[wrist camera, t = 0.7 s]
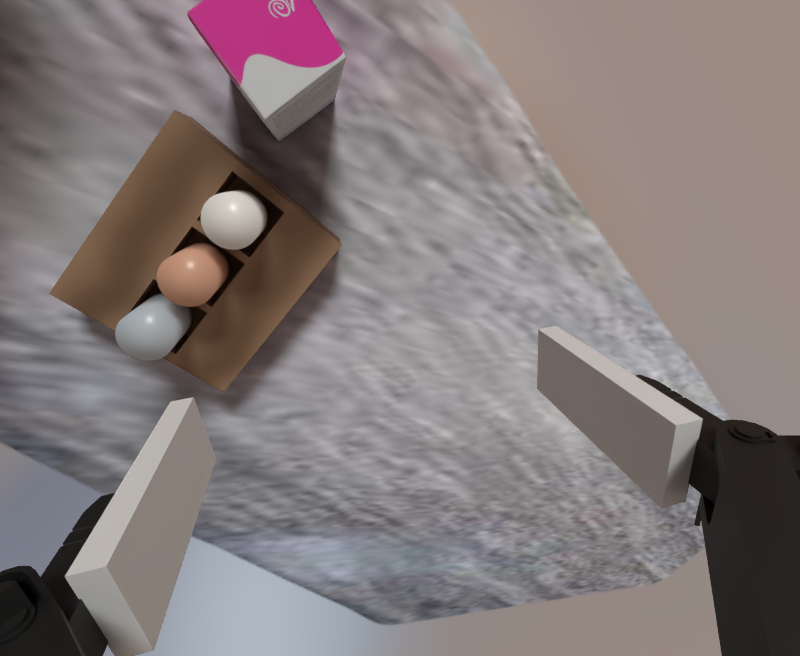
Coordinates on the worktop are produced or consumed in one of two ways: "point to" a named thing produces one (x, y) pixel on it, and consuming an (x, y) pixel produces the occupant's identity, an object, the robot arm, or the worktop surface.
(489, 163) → the worktop surface
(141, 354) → the pale blue egg
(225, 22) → the supplement box
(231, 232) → the white egg
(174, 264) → the brown egg
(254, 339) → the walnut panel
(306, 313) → the worktop surface
